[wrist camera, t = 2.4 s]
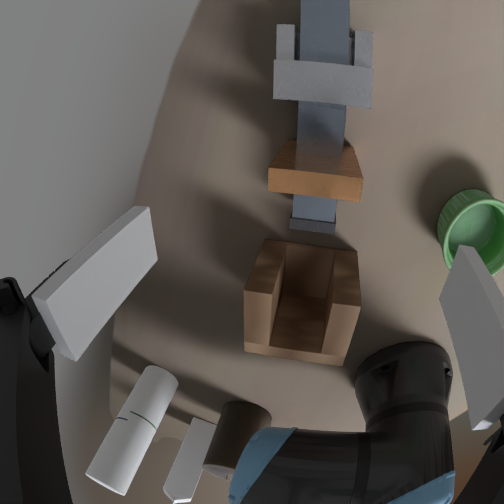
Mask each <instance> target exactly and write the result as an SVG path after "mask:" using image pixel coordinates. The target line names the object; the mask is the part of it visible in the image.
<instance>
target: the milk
mask: <svg viewBox="0 0 504 504" xmlns="http://www.w3.org/2000/svg"><path fill="white" fill-rule="evenodd" d="M216 427H217V425H215V424H212V423H209V422H207V421H204V420H201V419H198V418H196V417H193V419H192V422H191V424H190V426H189V429H188V431H187V433H186V436H185V438H184V440H183V443H182V445H181V447H180V450H179V452H178V454H177V457H176V459H175V461H174V464H173V466H172V468H171V470H170V473H169V475H168V477H167V480H166V482H165V484H164V487H163V490H164V493H165V494H166V495H167V496H168V497H169V498H170V499H171V500H172V502H173V504H174V503H181V502H190V501H191V499H192V496H193V493H194V491H195V489H196V486H197V483H198V481H199V478H200V476H201V473H202V470H203V468H202V465H203V462H204V459H205V457H206V454H207V451H208V449H209V446H210V443H211V441H212V438H213V435H214V432H215V430H216Z"/></svg>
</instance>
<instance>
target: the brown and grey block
mask: <svg viewBox="0 0 504 504" xmlns="http://www.w3.org/2000/svg"><path fill="white" fill-rule="evenodd" d="M349 23H350V7H349V0H301V26H300V61H311V62H323V63H334V64H343V65H349ZM345 117H346V105H340V104H332V103H322V102H312V101H300V100H299V104H298V128H297V140H288V141H287V143H286V144H285V145H284V147H283V148H282V150H281V151H280V152H279V154H278V155H277V157H276V158H275V159H274V161H273V162H272V164H271V165H270V167H269V170H268V191H270V192H280V193H289V194H294V198H293V211H292V214H291V217H290V227H289V229H295V230H303V231H311V232H319V233H327V234H334V232H335V226H336V205H337V199H339V200H346V201H354V202H360V198H361V192H362V185H363V176H362V173H361V169H360V166H359V163H358V160H357V157H356V154H355V151H354V148H353V147H352V146H345V145H343V141H344V130H345Z"/></svg>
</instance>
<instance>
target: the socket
mask: <svg viewBox="0 0 504 504" xmlns="http://www.w3.org/2000/svg"><path fill="white" fill-rule="evenodd" d="M360 309H361V295H360V280H359V267H358V256H357V251H349V250H342V249H335V248H327V247H320V246H312V245H304V244H297V243H289V242H281V241H274V240H266V239H265V241H264V243H263V245H262V248H261V250H260V253H259V255H258V257H257V260H256V262H255V264H254V267H253V269H252V271H251V274H250V276H249V279H248V281H247V283H246V286H245V288H244V351H246V352H251V353H257V354H262V355H268V356H274V357H280V358H286V359H292V360H299V361H305V362H312V363H320V364H327V365H335V366H342V365H343V362H344V359H345V357H346V354H347V351H348V348H349V345H350V342H351V338H352V335H353V332H354V329H355V326H356V323H357V319H358V316H359V313H360Z"/></svg>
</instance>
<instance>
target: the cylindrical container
mask: <svg viewBox="0 0 504 504" xmlns="http://www.w3.org/2000/svg"><path fill="white" fill-rule="evenodd" d="M177 387H178V381H177V379H176V378H175V377H174V376H173V375H172V374H171V373H170V372H168V371H167V370H165V369H163V368H161V367H158V366H154V365H149V366H147V367H146V368H145V370H144V371H143V373H142V375H141V376H140V378H139V380H138V381H137V383H136V385H135V387H134V388H133V390H132V392H131V393H130V395H129V397H128V399H127V400H126V402H125V404H124V405H123V407H122V409H121V411H120V412H119V414H118V416H117V418H116V419H115V421H114V423H113V425H112V426H111V428H110V430H109V432H108V434H107V435H106V437H105V439H104V441H103V442H102V444H101V446H100V448H99V450H98V451H97V453H96V455H95V457H94V459H93V460H92V462H91V464H90V466H89V468H88V469H87V471H86V473H85V474H86V475H87V476H88V477H90V478H91V479H93V480H94V481H96V482H97V483H99V484H101V485H103V486H104V487H106V488H108V489H110V490H112V491H114V492H116V493H119V494H121V495H124V496H125V494H126V492H127V490H128V488H129V486H130V484H131V481H132V479H133V477H134V475H135V473H136V471H137V469H138V467H139V465H140V463H141V461H142V458H143V457H144V455H145V453H146V451H147V448H148V446H149V444H150V442H151V440H152V438H153V436H154V434H155V432H156V430H157V428H158V426H159V424H160V422H161V420H162V418H163V416H164V414H165V412H166V409H167V407H168V405H169V403H170V401H171V399H172V397H173V395H174V393H175V391H176V389H177Z"/></svg>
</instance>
